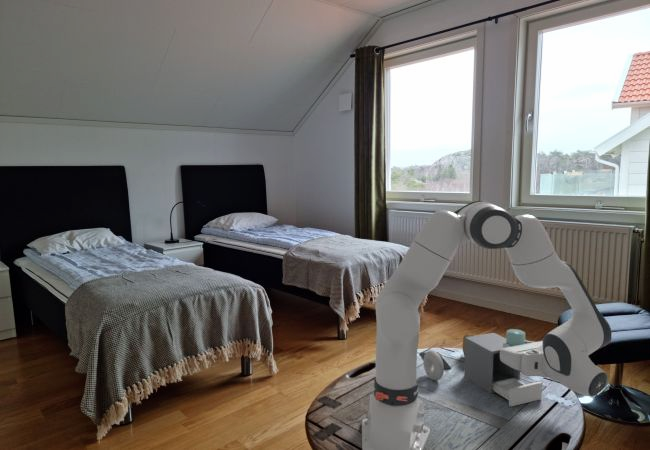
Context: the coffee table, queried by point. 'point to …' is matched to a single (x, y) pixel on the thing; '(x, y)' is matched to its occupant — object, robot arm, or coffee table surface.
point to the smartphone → (446, 366)
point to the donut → (433, 365)
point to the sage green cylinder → (515, 337)
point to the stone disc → (464, 340)
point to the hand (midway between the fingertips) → (513, 343)
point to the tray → (518, 391)
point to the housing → (486, 361)
